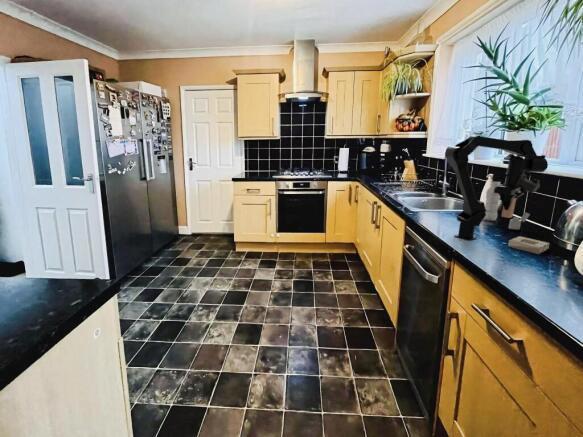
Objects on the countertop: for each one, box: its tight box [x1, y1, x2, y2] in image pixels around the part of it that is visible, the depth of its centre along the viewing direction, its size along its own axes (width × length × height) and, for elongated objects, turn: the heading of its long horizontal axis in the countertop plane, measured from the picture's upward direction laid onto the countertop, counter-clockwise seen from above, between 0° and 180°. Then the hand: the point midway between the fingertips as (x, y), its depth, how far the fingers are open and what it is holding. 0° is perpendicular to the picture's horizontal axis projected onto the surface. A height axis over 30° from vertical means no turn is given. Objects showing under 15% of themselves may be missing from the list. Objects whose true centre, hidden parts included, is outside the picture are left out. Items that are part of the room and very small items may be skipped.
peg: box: [501, 198, 517, 219], centre depth 132 cm, size 3×3×8 cm
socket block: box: [507, 236, 550, 255], centre depth 123 cm, size 10×10×2 cm
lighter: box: [508, 212, 530, 230], centre depth 149 cm, size 7×2×8 cm, turn 78°
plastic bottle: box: [483, 181, 501, 222], centre depth 163 cm, size 6×7×20 cm
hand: (508, 209), depth 132 cm, fingers closed on peg, 3 cm apart
